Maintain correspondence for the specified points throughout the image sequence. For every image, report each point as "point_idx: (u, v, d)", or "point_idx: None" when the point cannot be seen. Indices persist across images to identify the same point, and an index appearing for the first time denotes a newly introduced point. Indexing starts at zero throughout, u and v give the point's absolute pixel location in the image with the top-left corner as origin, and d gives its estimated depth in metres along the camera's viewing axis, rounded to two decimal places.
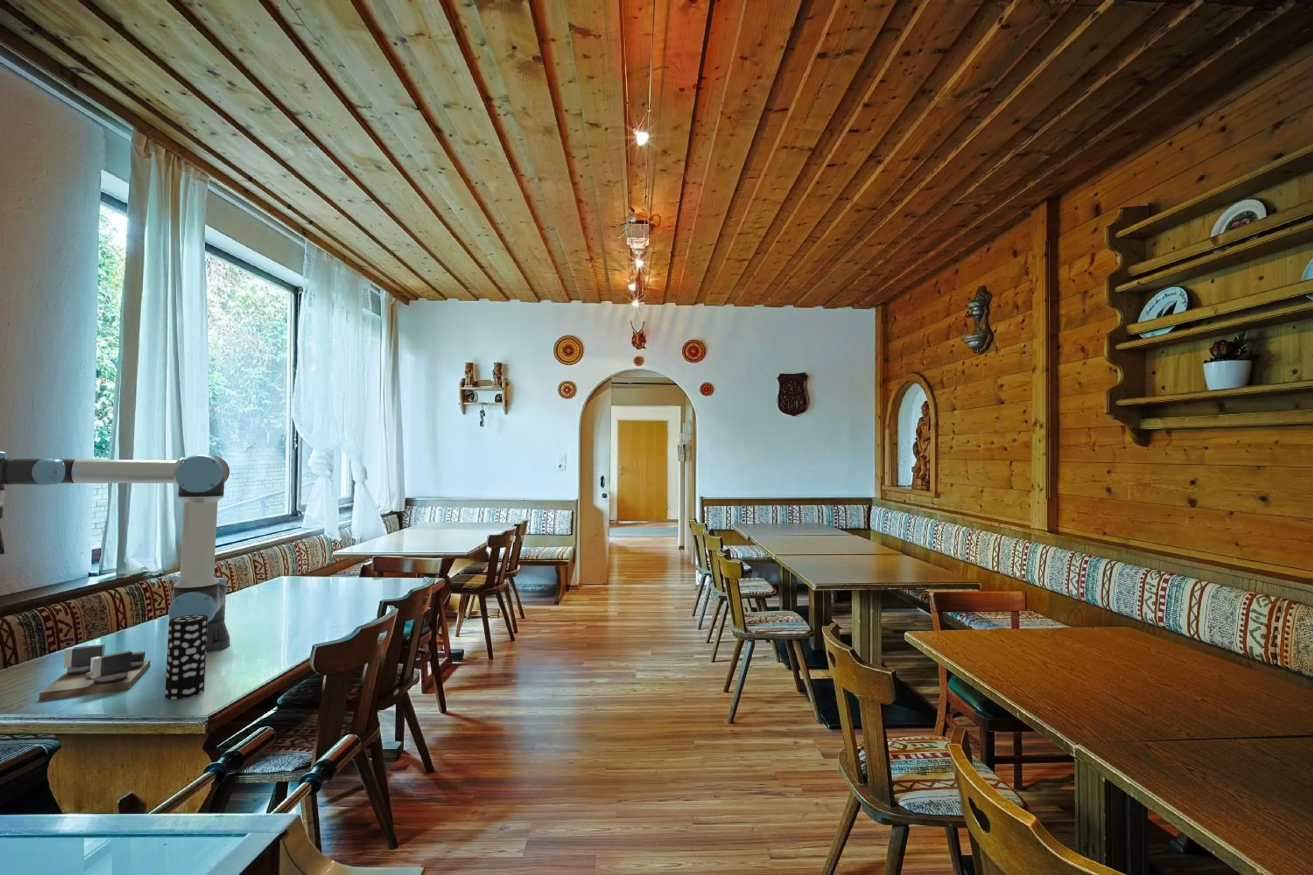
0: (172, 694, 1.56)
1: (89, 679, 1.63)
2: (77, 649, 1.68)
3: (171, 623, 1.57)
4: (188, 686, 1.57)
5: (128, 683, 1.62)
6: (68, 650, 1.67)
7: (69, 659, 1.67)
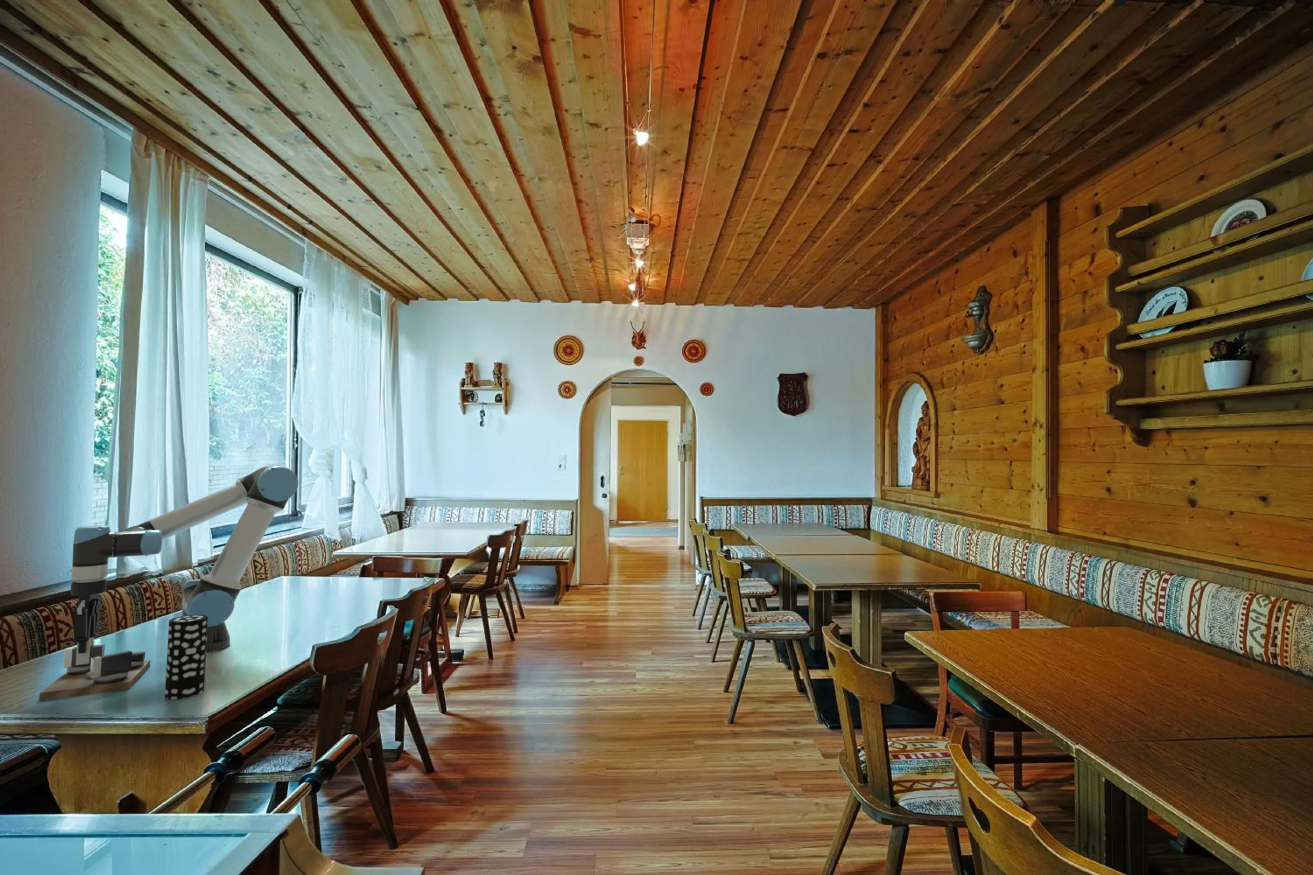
0: (172, 694, 1.56)
1: (89, 679, 1.63)
2: None
3: (171, 623, 1.57)
4: (188, 686, 1.57)
5: (128, 683, 1.62)
6: (68, 650, 1.67)
7: (69, 659, 1.67)
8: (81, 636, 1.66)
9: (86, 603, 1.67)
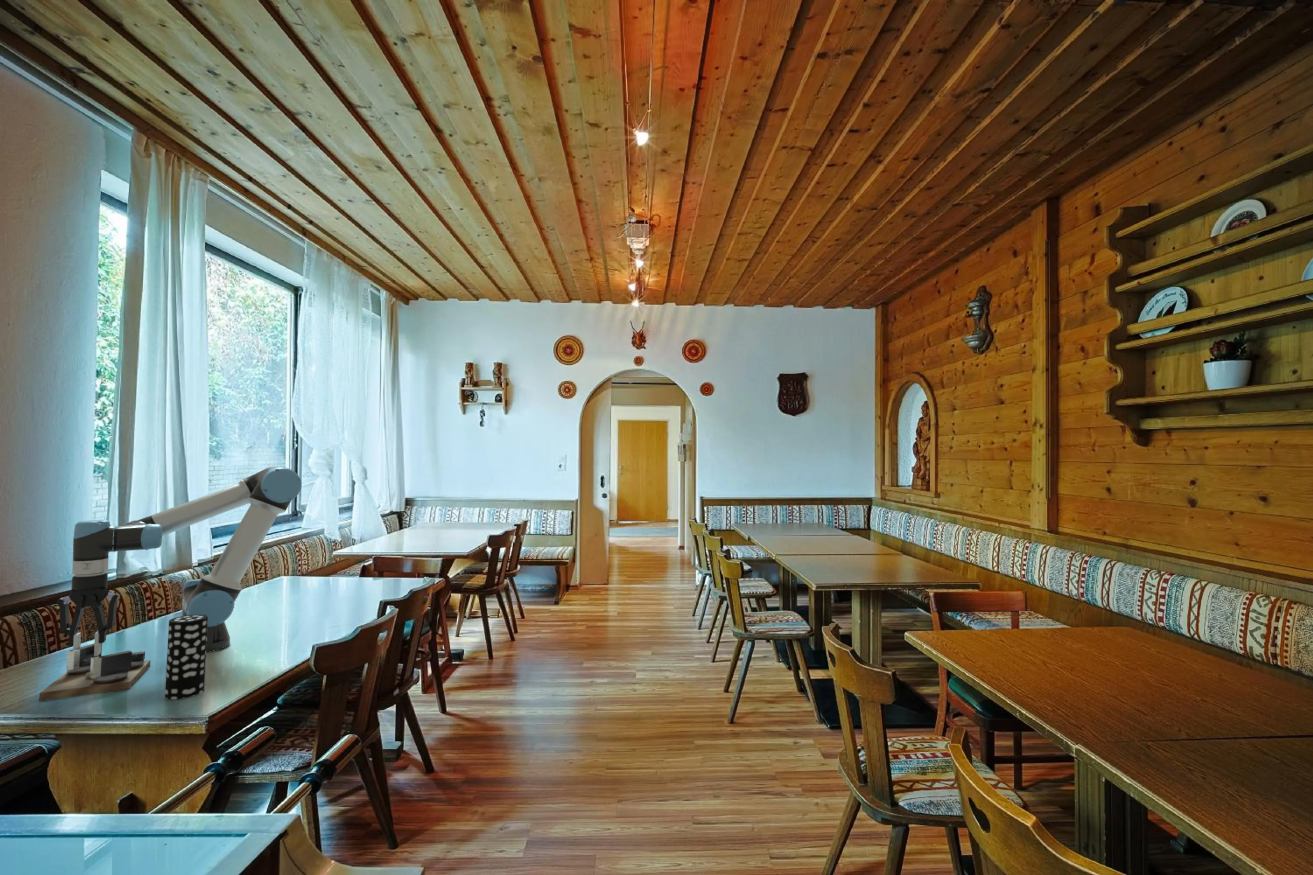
0: (172, 694, 1.56)
1: (89, 679, 1.63)
2: (83, 649, 1.68)
3: (171, 623, 1.57)
4: (188, 686, 1.57)
5: (128, 683, 1.62)
6: (77, 651, 1.67)
7: (77, 660, 1.67)
8: (113, 623, 1.74)
9: None
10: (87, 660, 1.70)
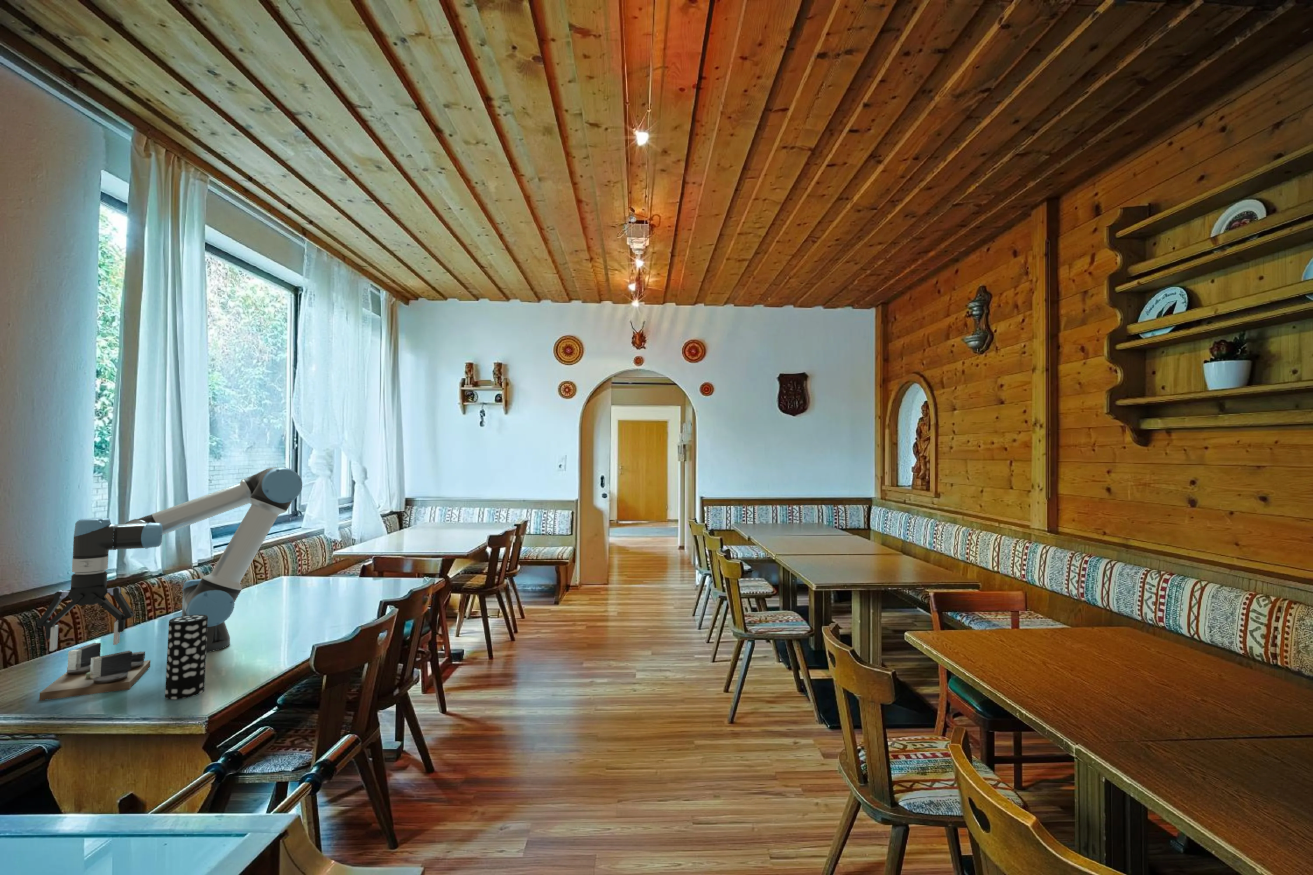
0: (172, 694, 1.56)
1: (89, 679, 1.63)
2: (84, 649, 1.69)
3: (171, 623, 1.57)
4: (188, 686, 1.57)
5: (128, 683, 1.62)
6: (79, 651, 1.67)
7: (79, 660, 1.67)
8: (131, 611, 1.75)
9: None
10: (87, 660, 1.70)
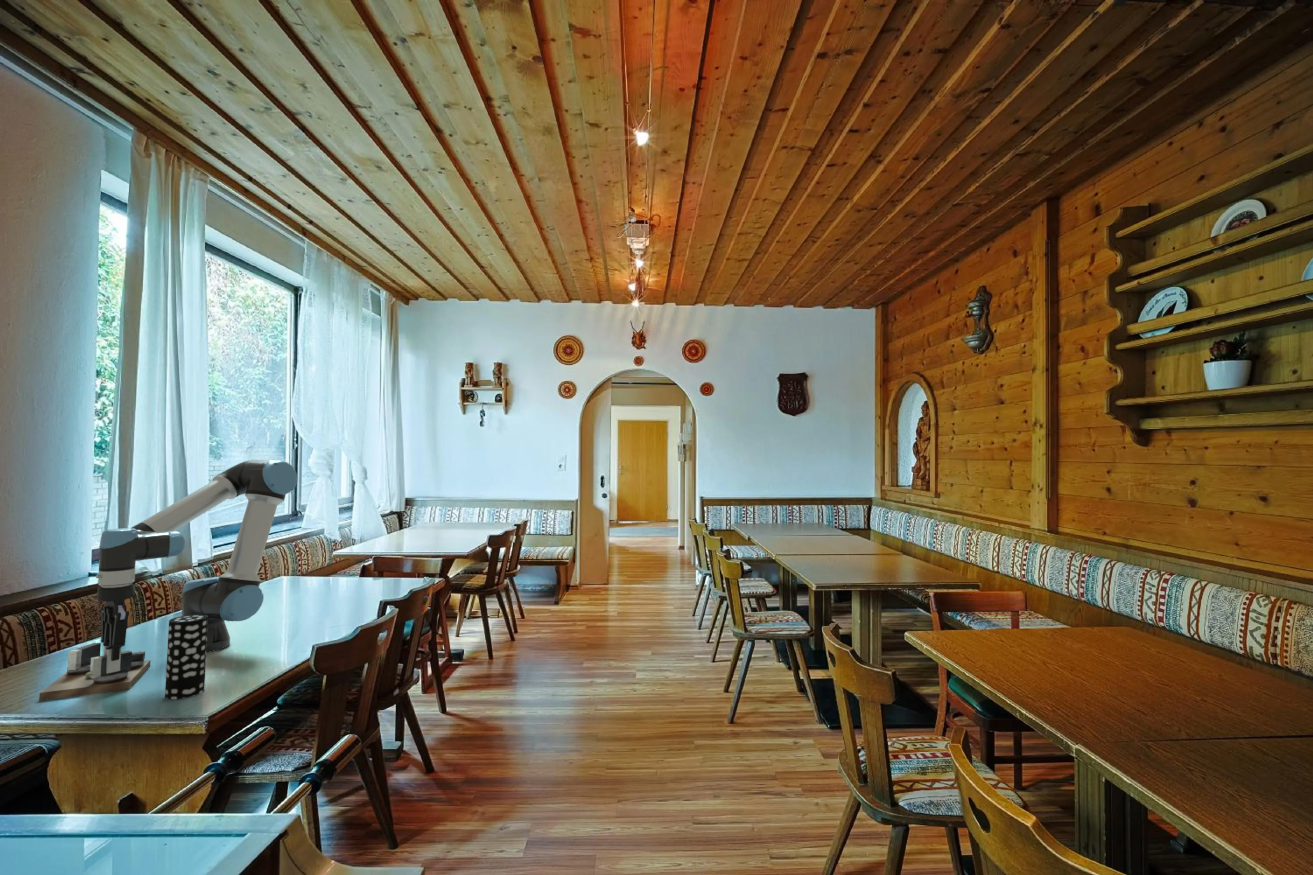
0: (172, 694, 1.56)
1: (89, 679, 1.63)
2: (84, 649, 1.69)
3: (171, 623, 1.57)
4: (188, 686, 1.57)
5: (128, 683, 1.62)
6: (79, 651, 1.67)
7: (79, 660, 1.67)
8: (121, 642, 1.62)
9: (124, 608, 1.63)
10: (87, 660, 1.70)
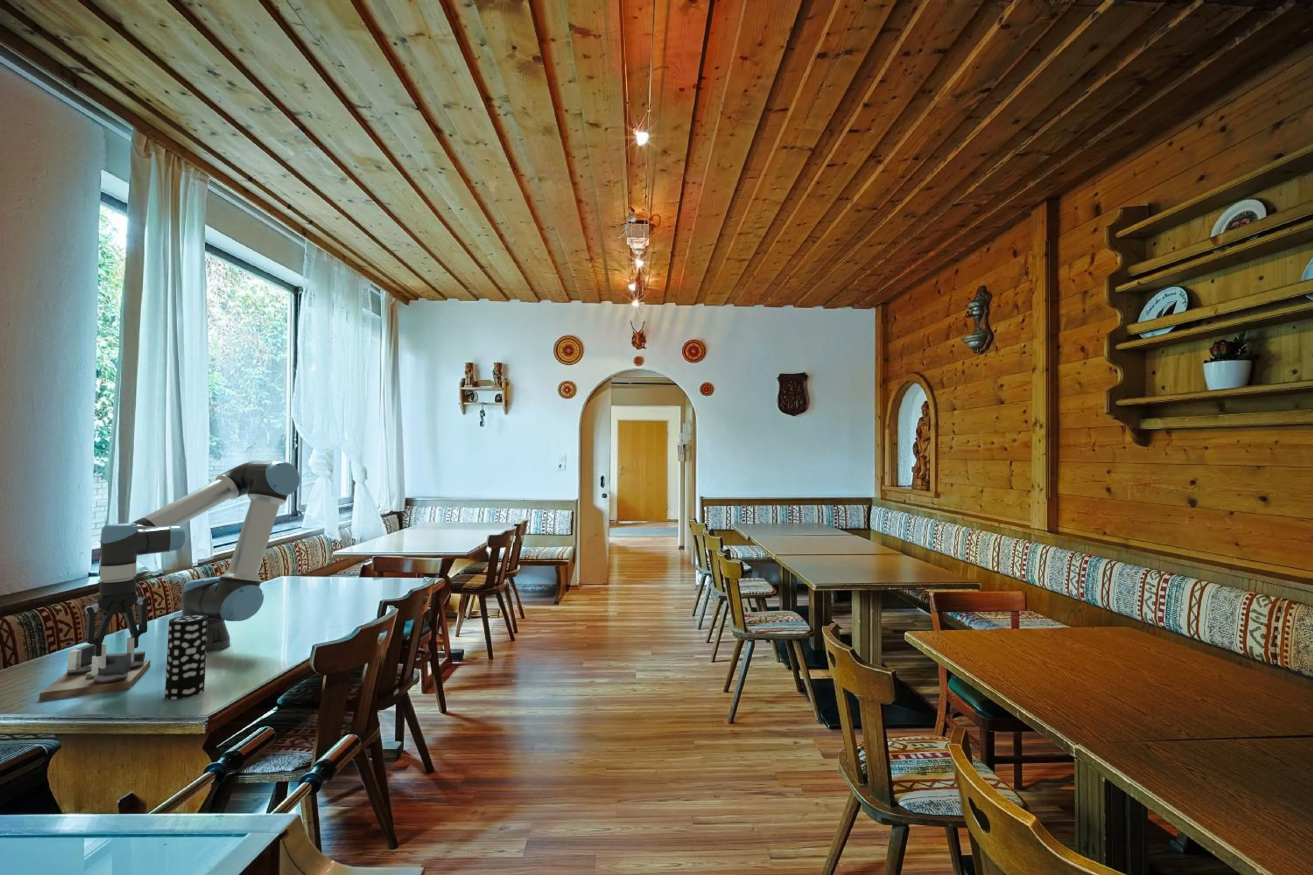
0: (172, 694, 1.56)
1: (89, 679, 1.63)
2: (84, 649, 1.69)
3: (171, 623, 1.57)
4: (188, 686, 1.57)
5: (128, 683, 1.62)
6: (79, 651, 1.67)
7: (79, 660, 1.67)
8: (87, 638, 1.58)
9: (99, 604, 1.60)
10: (87, 660, 1.70)
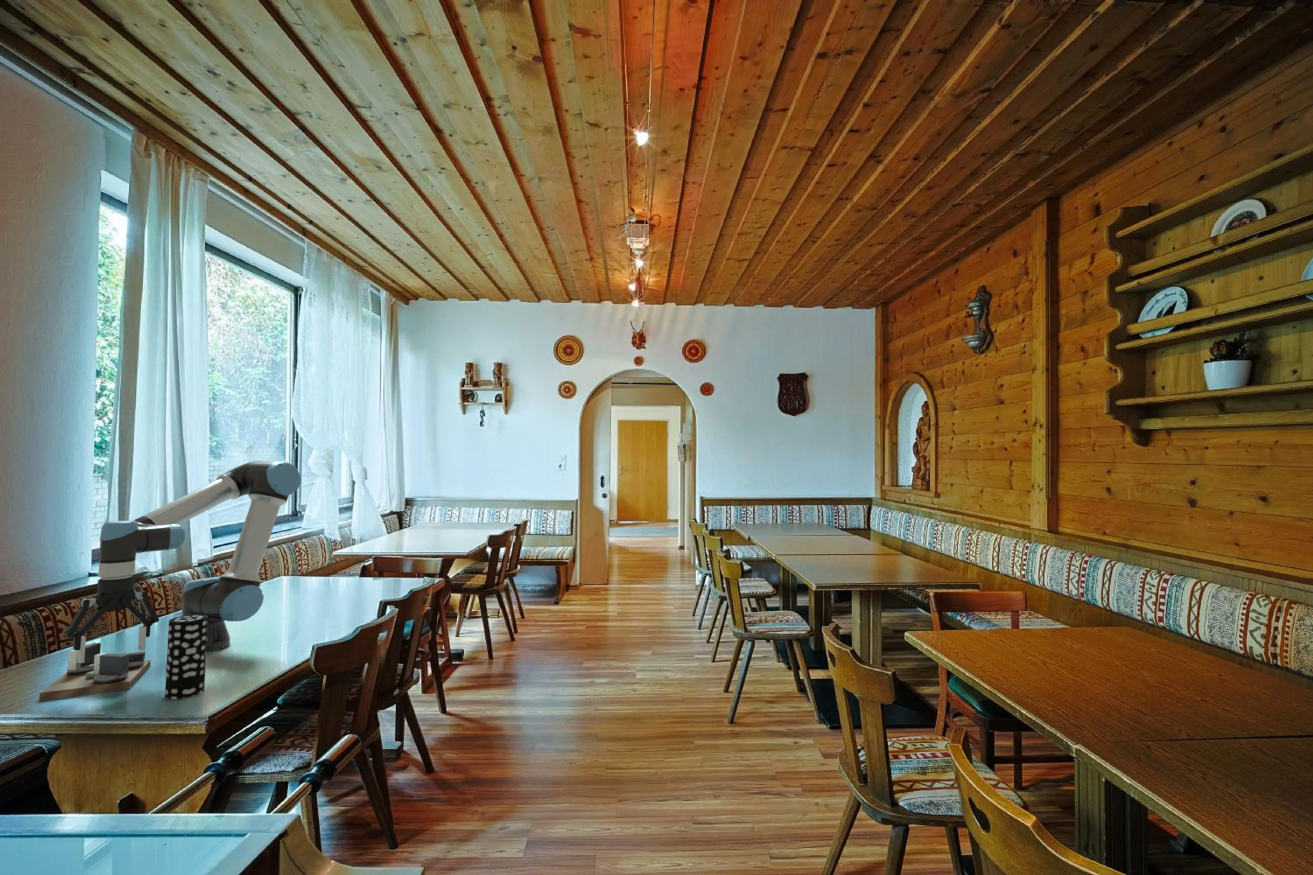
0: (172, 694, 1.56)
1: (89, 679, 1.63)
2: None
3: (171, 623, 1.57)
4: (188, 686, 1.57)
5: (128, 683, 1.62)
6: None
7: None
8: (68, 631, 1.56)
9: (97, 599, 1.60)
10: (87, 660, 1.70)
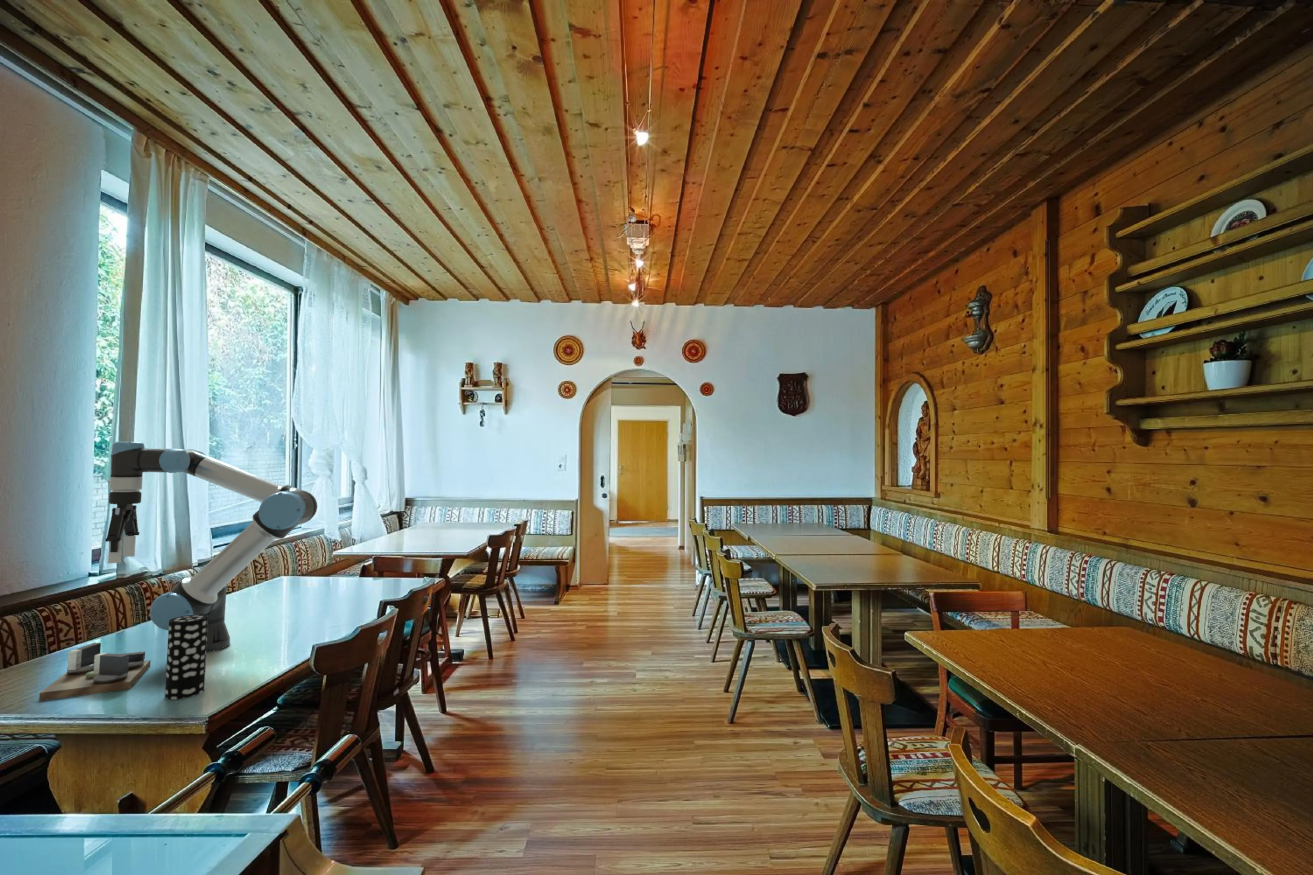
0: (172, 694, 1.56)
1: (89, 679, 1.63)
2: (84, 649, 1.69)
3: (171, 623, 1.57)
4: (188, 686, 1.57)
5: (128, 683, 1.62)
6: (79, 651, 1.67)
7: (79, 660, 1.67)
8: (114, 534, 1.76)
9: (123, 509, 1.81)
10: (87, 660, 1.70)
